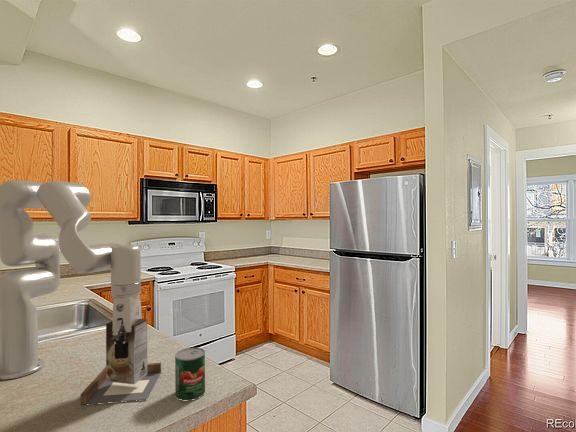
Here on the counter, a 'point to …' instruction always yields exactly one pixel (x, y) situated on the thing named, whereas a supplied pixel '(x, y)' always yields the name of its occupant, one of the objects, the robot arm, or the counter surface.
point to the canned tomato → (190, 373)
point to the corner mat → (125, 390)
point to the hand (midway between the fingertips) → (127, 351)
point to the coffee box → (136, 361)
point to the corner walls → (102, 378)
